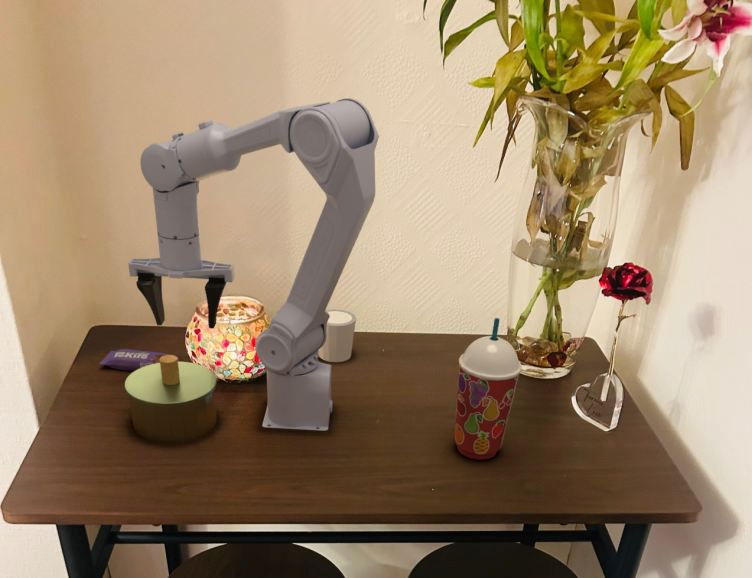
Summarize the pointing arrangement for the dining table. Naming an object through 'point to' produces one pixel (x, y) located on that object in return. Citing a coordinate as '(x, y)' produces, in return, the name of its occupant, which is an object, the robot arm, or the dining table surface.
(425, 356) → the dining table surface
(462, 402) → the smoothie
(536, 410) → the dining table surface
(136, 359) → the snack package
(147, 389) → the tin lid
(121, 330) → the dining table surface
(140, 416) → the tin
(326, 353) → the white cup
